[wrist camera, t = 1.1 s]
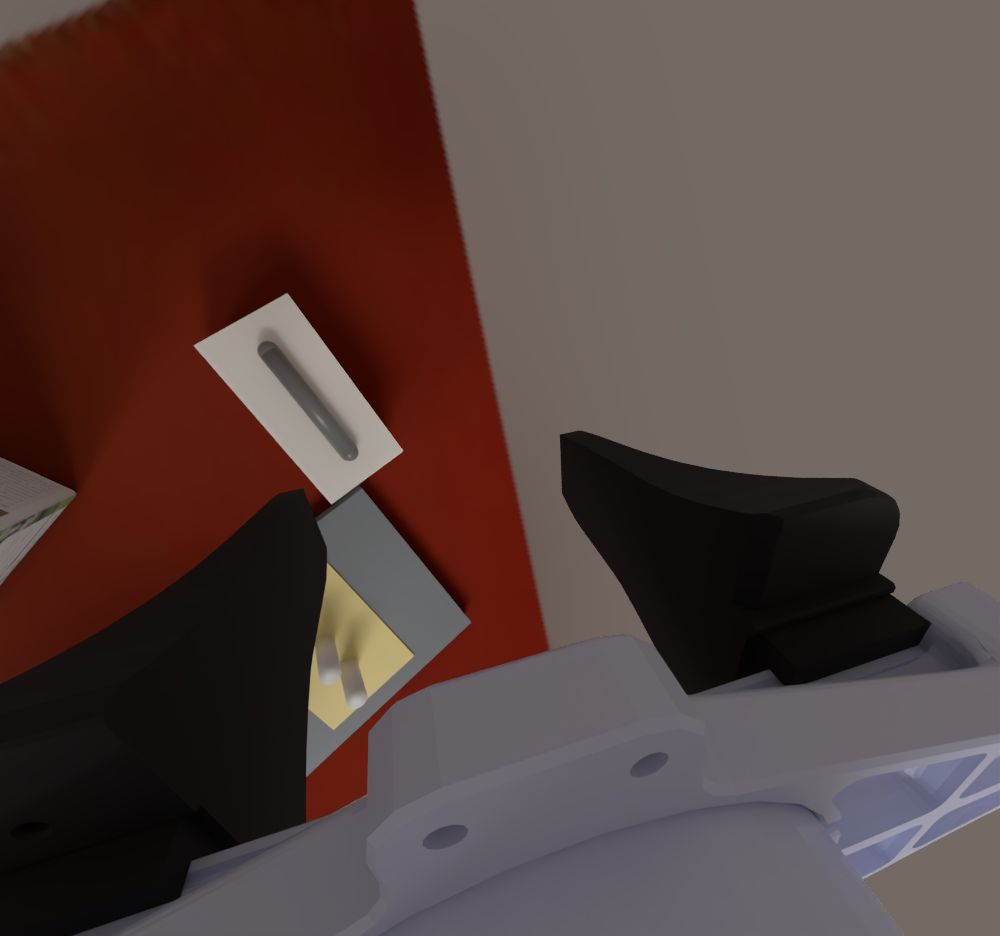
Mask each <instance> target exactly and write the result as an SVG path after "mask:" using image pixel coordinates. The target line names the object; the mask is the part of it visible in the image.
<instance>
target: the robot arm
mask: <svg viewBox="0 0 1000 936" xmlns="http://www.w3.org/2000/svg"><path fill="white" fill-rule="evenodd" d="M560 448H561V475H562V494H563V496H564V498H565V500H566V502H567V504H568V506H569V508H570V510H571V512H572V514H573V516H574V518H575V519H576V521H577V522H578V524H579V525H580V527H581V528H582V530H583V531H584V532H585V534H586V535H587V537H588V538H589V539H590V541H591V542H592V543H593V545H594V546H595V548H596V549H597V551H598V552H599V553H600V555H601V556H602V557H603V559H604V560H605V562H606V563H607V564H608V566H609V567H610V569H611V570H612V571H613V573H614V574H615V576H616V577H617V579H618V580H619V582H620V583H621V585H622V587H623V588H624V590H625V592H626V594H627V596H628V597H629V599H630V601H631V602H632V604H633V606H634V608H635V610H636V612H637V614H638V615H639V617H640V619H641V621H642V623H643V625H644V627H645V629H646V631H647V633H648V634H649V636H650V638H651V640H652V642H653V644H654V645H652V644H649V643H647V642H645V641H643V640H641V639H639V638H636V637H634V636H632V635H624V634H623V635H614V636H604V637H595V638H590V639H587V640H583V641H580V642H577V643H573V644H570V645H567V646H563V647H560V648H556V649H553V650H550V651H546V652H543V653H539V654H536V655H533V656H529V657H526V658H522V659H519V660H516V661H512V662H509V663H505V664H502V665H499V666H495V667H492V668H488V669H485V670H482V671H478V672H475V673H472V674H468V675H465V676H461V677H458V678H455V679H451V680H448V681H444V682H441V683H438V684H434V685H431V686H429V687H427V688H425V689H422V690H420V691H418V692H416V693H414V694H412V695H410V696H408V697H406V698H404V699H402V700H400V701H398V702H396V703H395V704H394V705H393V706H392V707H391V708H390V709H389V710H388V711H387V712H386V713H385V714H384V716H383V717H382V718H381V719H380V720H379V721H378V722H377V723H376V725H375V726H374V727H373V728H372V729H371V730H370V731H369V739H368V789H367V795H365V796H363V797H362V798H360V799H358V800H356V801H354V802H353V803H351V804H349V805H347V806H345V807H343V808H342V809H340V810H338V811H336V812H334V813H333V814H331V815H328V816H325V817H322V818H319V819H316V820H313V821H310V822H307V823H306V757H307V729H308V706H309V691H310V676H311V666H312V659H313V652H314V646H315V641H316V636H317V630H318V625H319V619H320V614H321V608H322V603H323V597H324V591H325V586H326V578H327V546H326V544H325V541H324V539H323V536H322V534H321V531H320V529H319V526H318V524H317V522H316V519H315V517H314V514H313V512H312V509H311V507H310V504H309V502H308V499H307V497H306V494H305V492H304V489H298V490H294V491H289V492H284V493H279V494H278V495H276V496H275V497H274V498H273V499H271V500H270V501H269V502H268V503H267V504H266V505H265V506H263V507H262V508H261V509H260V510H259V511H258V512H257V513H256V514H255V515H254V516H253V517H252V518H251V519H249V520H248V521H247V522H246V523H245V524H244V525H243V526H242V527H241V528H240V529H239V530H238V531H236V532H235V533H234V534H233V535H232V536H231V537H230V538H229V539H228V540H227V541H225V542H224V543H223V544H222V545H221V546H219V547H218V548H217V549H216V550H215V551H214V552H212V553H211V554H210V555H209V556H208V557H207V558H205V559H204V560H203V561H202V562H201V563H200V564H198V565H197V566H196V567H195V568H193V569H192V570H191V571H190V572H188V573H187V574H186V575H184V576H183V577H182V578H180V579H179V580H178V581H176V582H175V583H173V584H172V585H171V586H169V587H168V588H166V589H165V590H164V591H162V592H161V593H159V594H158V595H157V596H155V597H154V598H152V599H151V600H149V601H148V602H146V603H145V604H143V605H141V606H140V607H138V608H137V609H135V610H133V611H132V612H130V613H129V614H127V615H126V616H124V617H122V618H121V619H119V620H118V621H116V622H114V623H113V624H111V625H110V626H108V627H107V628H105V629H103V630H101V631H100V632H98V633H96V634H95V635H93V636H91V637H89V638H88V639H86V640H84V641H82V642H81V643H79V644H77V645H75V646H74V647H72V648H70V649H68V650H66V651H64V652H62V653H61V654H59V655H57V656H55V657H53V658H51V659H49V660H48V661H46V662H44V663H42V664H40V665H38V666H36V667H34V668H32V669H30V670H28V671H26V672H24V673H22V674H20V675H18V676H16V677H14V678H12V679H10V680H8V681H6V682H4V683H2V684H0V936H905V935H904V933H903V932H902V931H901V929H900V928H899V927H898V925H897V924H896V923H895V921H894V920H893V919H892V917H891V916H890V915H889V914H888V912H887V911H886V909H885V908H884V907H883V905H882V904H881V903H880V902H879V900H878V899H877V897H876V896H875V895H874V894H873V892H872V891H871V889H870V888H869V887H868V886H867V884H866V883H865V881H864V880H863V879H864V878H866V877H868V876H870V875H872V874H874V873H876V872H877V871H879V870H881V869H883V868H885V867H887V866H889V865H890V864H893V863H894V862H896V861H898V860H900V859H902V858H904V857H906V856H907V855H910V854H911V853H913V852H915V851H917V850H919V849H921V848H923V847H925V846H926V845H928V844H930V843H932V842H934V841H936V840H938V839H940V838H942V837H943V836H945V835H947V834H949V833H951V832H953V831H955V830H957V829H959V828H961V827H963V826H965V825H967V824H969V823H971V822H973V821H975V820H976V819H978V818H980V817H982V816H984V815H986V814H988V813H990V812H992V811H995V810H997V809H999V808H1000V601H999V600H997V599H996V598H994V597H992V596H990V595H989V594H987V593H985V592H984V591H982V590H980V589H979V588H977V587H975V586H974V585H972V584H970V583H968V582H959V583H956V584H953V585H950V586H947V587H944V588H940V589H937V590H934V591H931V592H928V593H925V594H922V595H920V596H918V597H916V598H915V599H913V600H912V601H911V602H910V603H909V604H908V605H907V606H906V605H905V604H903V603H902V602H900V601H899V600H898V599H896V598H895V597H894V596H892V595H891V594H890V593H893V592H894V590H895V588H896V587H895V585H894V583H893V582H892V581H890V580H889V579H887V578H886V577H884V576H883V575H881V574H880V573H879V571H880V569H881V566H882V564H883V562H884V560H885V558H886V556H887V554H888V552H889V549H890V547H891V545H892V543H893V541H894V539H895V536H896V533H897V530H898V527H899V518H900V513H899V508H898V506H897V503H896V501H895V500H894V499H893V498H892V497H890V496H889V495H888V494H886V493H884V492H882V491H880V490H878V489H876V488H874V487H872V486H870V485H868V484H866V483H865V482H862V481H860V480H858V479H855V478H793V477H777V476H763V475H753V474H743V473H735V472H729V471H721V470H715V469H709V468H704V467H699V466H695V465H690V464H685V463H680V462H677V461H673V460H669V459H665V458H662V457H659V456H655V455H652V454H649V453H645V452H642V451H639V450H636V449H633V448H630V447H628V446H625V445H622V444H619V443H616V442H614V441H611V440H608V439H605V438H603V437H600V436H597V435H594V434H591V433H587V432H584V431H575V432H571V433H566V434H561V435H560ZM654 646H655V647H654Z"/></svg>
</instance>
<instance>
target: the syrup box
mask: <svg viewBox="0 0 1000 936" xmlns="http://www.w3.org/2000/svg"><path fill="white" fill-rule="evenodd" d="M75 497H76V492H75V491H73V490H71V489H69V488H67V487H65V486H63V485H60V484H58V483H56V482H54V481H52V480H49V479H47V478H45V477H43V476H41V475H39V474H36V473H34V472H32V471H30V470H28V469H26V468H23V467H21V466H19V465H17V464H14V463H12V462H10V461H8V460H6V459H4V458H1V457H0V586H1V585H2V583H3V582H4V581H5V580H6V578H7V577H8V576H9V575H10V574H11V572H12V571H13V570H14V569H15V568H16V566H17V565H18V564H19V563H20V562H21V560H22V559H23V558H24V557H25V556H26V554H27V553H28V552H29V551H30V549H31V548H32V547H33V546H34V545H35V544H36V542H37V541H38V540H39V539H40V538H41V537H42V535H43V534H44V533H45V532H46V531H47V529H48V528H49V527H50V526H51V525H52V524H53V522H54V521H55V520H56V519H57V518H58V516H59V515H60V514H61V513H62V512H63V510H64V509H65V508H66V507H67V506H68V505H69V503H70V502H71V501H72V500H73V499H74V498H75Z"/></svg>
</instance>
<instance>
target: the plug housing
mask: <svg viewBox="0 0 1000 936" xmlns="http://www.w3.org/2000/svg"><path fill="white" fill-rule="evenodd" d="M194 347H195V348H196V349H197V350H198V351H199V352H200V354H201V355H202V356H203V357H204V358H205V359H206V360H207V362H208V363H209V364H210V365H211V366H212V367H213V369H214V370H215V371H216V372H217V373H218V374H219V375H220V377H221V378H222V379H223V380H224V381H225V382H226V384H227V385H228V386H229V387H230V388H231V389H232V390H233V392H234V393H235V394H236V395H237V396H238V397H239V399H240V400H241V401H242V402H243V403H244V404H245V405H246V407H247V408H248V409H249V410H250V411H251V412H252V414H253V415H254V416H255V417H256V418H257V419H258V420H259V422H260V423H261V424H262V425H263V426H264V427H265V429H266V430H267V431H268V432H269V433H270V434H271V435H272V437H273V438H274V439H275V440H276V441H277V442H278V444H279V445H280V446H281V447H282V448H283V449H284V450H285V452H286V453H287V454H288V455H289V456H290V457H291V459H292V460H293V461H294V462H295V463H296V464H297V465H298V467H299V468H300V469H301V470H302V471H303V472H304V474H305V475H306V476H307V477H308V478H309V479H310V480H311V482H312V483H313V484H314V485H315V486H316V487H317V488H318V490H319V491H320V492H321V493H322V494H323V495H324V497H325V498H326V499H327V500H328V501H329V502H330V503H331V505H332V504H333V503H334V502H336V501H337V500H338V499H340V498H341V497H342V496H344V495H345V494H346V493H348V492H349V491H350V490H352V489H353V488H354V487H356V486H357V485H359V484H360V483H361V482H363V481H364V480H365V479H367V478H368V477H369V476H371V475H372V474H373V473H375V472H376V471H377V470H379V469H380V468H381V467H383V466H384V465H385V464H387V463H388V462H389V461H391V460H392V459H393V458H395V457H396V456H398V455H399V454H400V453H402V452H403V450H402V448H401V447H400V446H399V444H398V443H397V442H396V440H395V439H394V438H393V436H392V435H391V433H390V432H389V431H388V429H387V428H386V427H385V425H384V424H383V423H382V421H381V420H380V418H379V417H378V416H377V414H376V413H375V412H374V410H373V409H372V408H371V406H370V405H369V403H368V402H367V401H366V399H365V398H364V397H363V395H362V394H361V393H360V391H359V390H358V388H357V387H356V386H355V384H354V383H353V382H352V380H351V379H350V378H349V376H348V375H347V374H346V372H345V371H344V369H343V368H342V367H341V365H340V364H339V363H338V361H337V360H336V359H335V357H334V356H333V354H332V353H331V352H330V350H329V349H328V348H327V346H326V345H325V344H324V342H323V341H322V339H321V338H320V337H319V335H318V334H317V333H316V331H315V330H314V329H313V327H312V326H311V324H310V323H309V322H308V320H307V319H306V318H305V316H304V315H303V314H302V312H301V311H300V309H299V308H298V307H297V305H296V304H295V303H294V301H293V300H292V299H291V297H290V296H289V295H288V293H287V294H285V295H283V296H281V297H279V298H278V299H276V300H274V301H272V302H270V303H269V304H267V305H265V306H263V307H262V308H260V309H258V310H256V311H254V312H253V313H251V314H249V315H247V316H245V317H244V318H242V319H240V320H238V321H236V322H235V323H233V324H231V325H229V326H228V327H226V328H224V329H222V330H220V331H219V332H217V333H215V334H213V335H211V336H210V337H208V338H206V339H204V340H203V341H201V342H199V343H197V344H195V345H194Z"/></svg>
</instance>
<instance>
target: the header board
mask: <svg viewBox="0 0 1000 936" xmlns="http://www.w3.org/2000/svg"><path fill="white" fill-rule="evenodd" d="M315 519H316V522H317V524H318V526H319V529H320V531H321V534H322V536H323V539H324V541H325V544H326V546H327V578H326V586H325V591H324V597H323V603H322V608H321V614H320V619H319V625H318V630H317V636H316V641H315V646H314V652H313V659H312V666H311V676H310V691H309V706H308V729H307V757H306V777H307V776H308V775H309V774H310V773H311V772H312V771H313V770H314V769H315V768H316V767H317V766H318V765H320V764H321V763H322V762H323V761H324V760H325V759H326V758H327V757H328V756H329V755H330V754H331V753H332V752H333V751H334V750H336V749H337V748H338V747H339V746H340V745H341V744H342V743H343V742H344V741H345V740H346V739H347V738H348V737H349V736H350V735H352V734H353V733H354V732H355V731H356V730H357V729H358V728H359V727H360V726H361V725H362V724H363V723H364V722H365V721H366V720H368V719H369V718H370V717H371V716H372V715H373V714H374V713H375V712H376V711H377V710H378V709H379V708H380V707H381V706H382V705H384V704H385V703H386V702H387V701H388V700H389V699H390V698H391V697H392V696H393V695H394V694H395V693H396V692H397V691H398V690H400V689H401V688H402V687H403V686H404V685H405V684H406V683H407V682H408V681H409V680H410V679H411V678H412V677H413V676H414V675H416V674H417V673H418V672H419V671H420V670H421V669H422V668H423V667H424V666H425V665H426V664H427V663H428V662H429V661H431V660H432V659H433V658H434V657H435V656H436V655H437V654H438V653H439V652H440V651H441V650H442V649H443V648H444V647H445V646H447V645H448V644H449V643H450V642H451V641H452V640H453V639H454V638H455V637H456V636H457V635H458V634H459V633H460V632H461V631H463V630H464V629H465V628H466V627H467V626H468V625H469V624H470V623H471V621H470V620H469V619H468V618H467V617H466V615H465V614H464V613H463V612H462V610H461V609H460V608H459V607H458V605H457V604H456V603H455V602H454V601H453V599H452V598H451V597H450V596H449V594H448V593H447V592H446V591H445V590H444V588H443V587H442V586H441V585H440V583H439V582H438V581H437V580H436V578H435V577H434V576H433V575H432V574H431V572H430V571H429V570H428V569H427V567H426V566H425V565H424V564H423V563H422V561H421V560H420V559H419V558H418V556H417V555H416V554H415V553H414V551H413V550H412V549H411V548H410V547H409V545H408V544H407V543H406V542H405V540H404V539H403V538H402V537H401V536H400V534H399V533H398V532H397V531H396V529H395V528H394V527H393V526H392V524H391V523H390V522H389V521H388V520H387V518H386V517H385V516H384V515H383V513H382V512H381V511H380V510H379V509H378V507H377V506H376V505H375V504H374V502H373V501H372V500H371V499H370V497H369V496H368V495H367V494H366V493H365V491H364V490H363V489H362V488H361V487H360V486H357V487H356V488H355V489H353V490H352V491H351V492H349V493H348V494H347V495H345V496H344V497H343V498H341V499H340V500H339V501H337V502H336V503H335V504H333V505H332V506H331V507H329V508H328V509H327V510H325V511H324V512H322V513H321V514H320V515H318V516H317V517H316V518H315Z"/></svg>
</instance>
